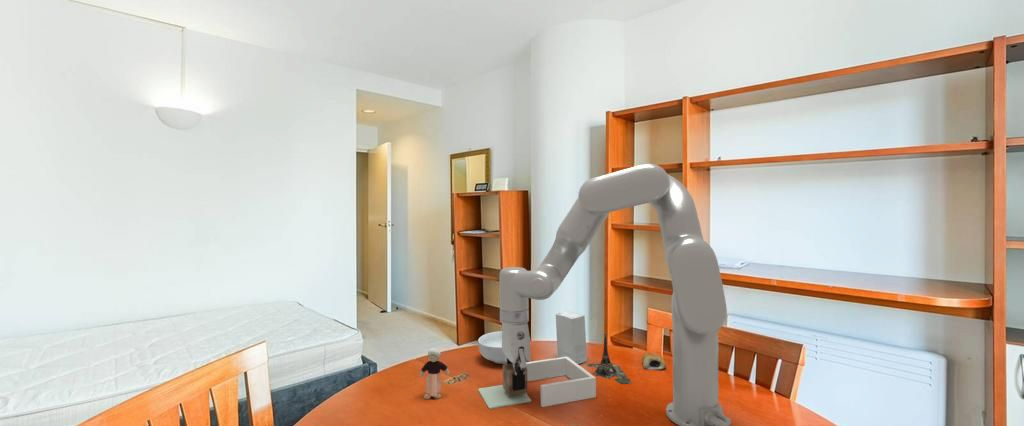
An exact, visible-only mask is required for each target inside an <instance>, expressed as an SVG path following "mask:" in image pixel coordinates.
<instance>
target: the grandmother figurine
mask: <svg viewBox="0 0 1024 426" xmlns="http://www.w3.org/2000/svg"><path fill="white" fill-rule="evenodd" d="M441 355H442V354H441V351H440V350H439V349H438V348H437V347H431V348H430V349H428V351H427V356H428V361H427V362H426V363H424V365H423V367H422V368H421V369H420V373H419V374H418V375H419V377H420V378H423V376H424V374H425V372H426V378H425V379H426V380H425V381H426V382H425V394H424V395H423V399H424V400H428V399H429V400H430V399H431V398H432V397H433V399H441V398H442V394H441V393H442V391H441V390H442V377H441V376H442V375H441V371H442V372H444V373H445V375H446V376H449V375H450V371H449V369H448V366H447V365H446V364H445V363H443V362H442V361H439V358H440V357H441Z"/></svg>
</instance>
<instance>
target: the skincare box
mask: <svg viewBox="0 0 1024 426" xmlns="http://www.w3.org/2000/svg"><path fill="white" fill-rule="evenodd" d="M585 317H586V316H585V314H579V313H576V312H572V311H569V310H567V311H563V312H559V313H555V325H556V327H555V329H556V331H555V332H556V348H557V358H560V357H568V358H570V359H571V360H573V361H574V362H575V363H577V364H578V365H579V364H584V363H587V362H588V356H587V337H586V336H587V334H586V320H585V319H586V318H585Z"/></svg>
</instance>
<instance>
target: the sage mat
mask: <svg viewBox="0 0 1024 426" xmlns="http://www.w3.org/2000/svg"><path fill="white" fill-rule="evenodd" d="M477 391H478V392H479V394H480V396H481V398H482V400H484V403H485V404H486V407H488V409H489V410H493V409H499V408H504V407H509V406H515V405H521V404H525V403H526V404H527V403H531V402H532V399H531V398H530V397H529V395H528V393H522V394H516V395H510V396H509V395H508V394H507V392H506V391H505V389H504V388H503V384H499V385H492V386H487V387H480V388H478V389H477Z"/></svg>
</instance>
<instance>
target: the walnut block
mask: <svg viewBox="0 0 1024 426" xmlns="http://www.w3.org/2000/svg"><path fill="white" fill-rule="evenodd" d="M519 366H520V364H518V365H516V368H518V367H519ZM512 374H514V372H513V363H512V364H502V385H503V388H504V389H505V391H506V392H507V394H508V395H509V396H510V395H516V394H522V393H526V394H528V381H527V368H526V369H525V389H523V390H517V391H513V389H512Z"/></svg>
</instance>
